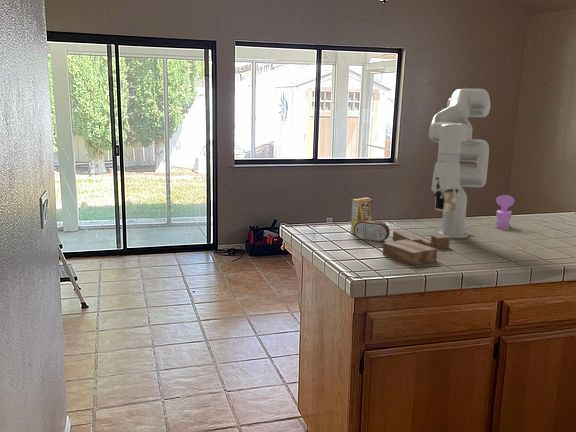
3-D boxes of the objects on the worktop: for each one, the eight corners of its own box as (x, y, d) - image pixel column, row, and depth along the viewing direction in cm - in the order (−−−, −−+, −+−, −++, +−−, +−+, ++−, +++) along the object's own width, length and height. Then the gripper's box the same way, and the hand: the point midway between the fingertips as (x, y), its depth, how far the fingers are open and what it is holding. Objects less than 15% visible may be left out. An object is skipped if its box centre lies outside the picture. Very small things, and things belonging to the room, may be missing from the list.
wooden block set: (413, 238, 212) (392, 227, 229) (412, 252, 213) (391, 240, 230) (451, 235, 217) (428, 225, 233) (450, 249, 218) (427, 238, 235)
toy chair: (492, 227, 255) (495, 196, 252) (493, 224, 263) (496, 193, 260) (511, 229, 252) (515, 198, 249) (512, 225, 260) (515, 195, 257)
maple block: (444, 208, 203) (445, 189, 201) (454, 210, 199) (456, 191, 197) (434, 209, 200) (436, 190, 199) (445, 211, 196) (446, 192, 194)
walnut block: (406, 251, 213) (406, 239, 212) (436, 261, 200) (437, 248, 199) (382, 255, 207) (383, 242, 206) (412, 266, 194) (412, 253, 193)
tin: (389, 241, 227) (390, 222, 225) (387, 243, 224) (388, 223, 222) (354, 237, 233) (355, 218, 231) (352, 239, 230) (353, 219, 228)
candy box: (364, 230, 246) (365, 197, 243) (371, 232, 243) (372, 198, 240) (350, 233, 240) (351, 199, 237) (357, 234, 237) (359, 200, 234)
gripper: (456, 156, 203) (452, 204, 207) (424, 158, 194) (420, 208, 198) (472, 158, 197) (468, 207, 201) (440, 160, 188) (436, 211, 192)
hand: (444, 207), depth 199 cm, fingers closed on maple block, 5 cm apart
